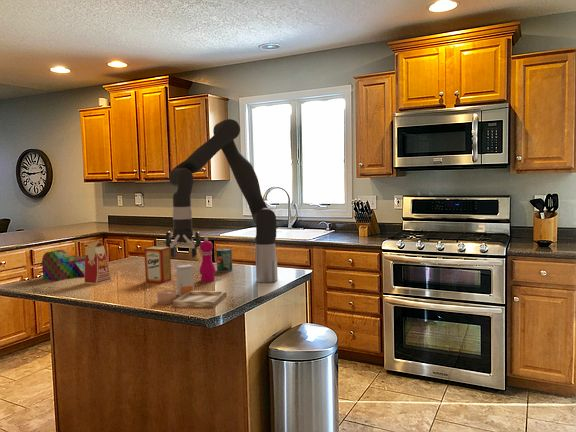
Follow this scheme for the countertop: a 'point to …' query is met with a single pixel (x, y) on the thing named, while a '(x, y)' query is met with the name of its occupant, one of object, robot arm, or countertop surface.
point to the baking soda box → (157, 264)
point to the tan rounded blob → (166, 296)
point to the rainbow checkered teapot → (62, 265)
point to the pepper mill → (207, 261)
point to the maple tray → (200, 299)
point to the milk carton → (96, 264)
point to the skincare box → (184, 279)
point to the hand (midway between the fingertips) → (183, 257)
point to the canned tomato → (224, 259)
